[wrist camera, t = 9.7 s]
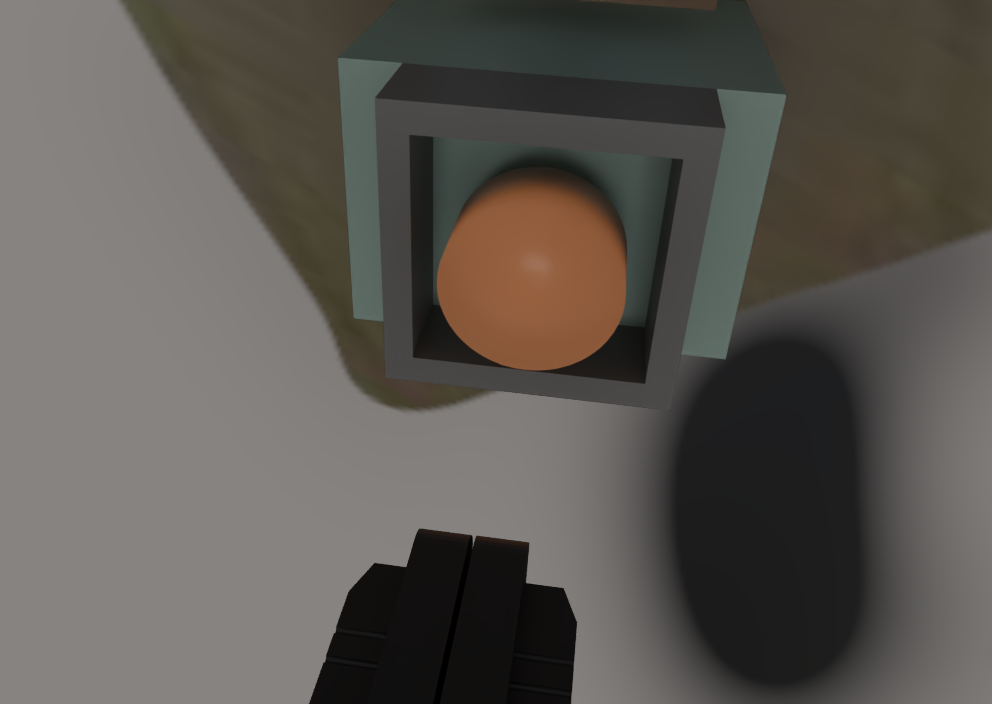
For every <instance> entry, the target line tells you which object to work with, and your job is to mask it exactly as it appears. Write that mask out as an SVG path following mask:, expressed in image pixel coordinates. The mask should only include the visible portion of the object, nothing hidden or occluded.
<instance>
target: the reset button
mask: <svg viewBox="0 0 992 704" xmlns="http://www.w3.org/2000/svg"><path fill="white" fill-rule="evenodd" d="M626 274H627V238H626V233H625V229H624V226H623V223H622V220H621V218H620V216H619V214H618V212H617V210H616V209H615V207H614V206H613V204H612V203H611V202H610V200H609V199H608V198H607V197H606V196H605V195H604V194H603V193H602V192H601V191H600V190H599V189H598V188H596V187H595V186H594V185H592V184H591V183H590V182H588V181H586V180H585V179H583V178H581V177H579V176H577V175H574V174H572V173H570V172H567V171H563V170H560V169H555V168H548V167H525V168H519V169H514V170H510V171H507V172H505V173H502V174H499V175H497V176H495V177H494V178H492V179H490V180H488V181H487V182H485V183H484V184H483V185H481V186H480V187H479V188H478V189H477V190H476V191H475V192H474V193H473V194H472V195H471V196H470V197H469V199H468V200H467V201H466V202H465V204H464V206H463V208H462V209H461V211H460V214H459V216H458V219H457V221H456V223H455V226H454V228H453V231H452V233H451V236H450V238H449V241H448V243H447V246H446V248H445V251H444V253H443V256H442V258H441V261H440V264H439V269H438V274H437V293H438V298H439V302H440V306H441V309H442V311H443V314H444V316H445V318H446V320H447V322H448V323H449V325H450V326H451V328H452V329H453V331H454V332H455V333H456V334H457V335H458V337H459V338H460V339H461V340H462V341H463V342H464V343H465V344H467V345H468V346H469V347H470V348H471V349H473V350H474V351H476V352H477V353H478V354H480V355H482V356H483V357H485V358H487V359H489V360H491V361H494V362H496V363H499V364H501V365H504V366H508V367H512V368H516V369H522V370H535V371H537V370H551V369H557V368H561V367H565V366H569V365H572V364H574V363H576V362H579V361H581V360H583V359H585V358H586V357H588V356H590V355H591V354H593V353H594V352H596V351H597V350H598V349H599V348H601V347H602V346H603V345H604V344H605V343H606V342H607V341H608V339H609V338H610V337H611V335H612V334H613V333H614V331H615V329H616V328H617V326H618V324H619V322H620V319H621V317H622V314H623V311H624V306H625V299H626Z"/></svg>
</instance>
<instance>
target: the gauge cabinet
mask: <svg viewBox="0 0 992 704" xmlns="http://www.w3.org/2000/svg"><path fill="white" fill-rule="evenodd" d="M338 68H339V85H340V101H341V117H342V133H343V150H344V166H345V182H346V199H347V215H348V231H349V248H350V264H351V280H352V297H353V313H354V318H356V319H365V320H374V321H383V326H384V352H385V378H393V379H401V380H410V381H419V382H427V383H436V384H444V385H453V386H462V387H470V388H479V389H488V390H496V391H505V392H513V393H522V394H531V395H539V396H548V397H556V398H565V399H574V400H582V401H591V402H600V403H608V404H617V405H626V406H634V407H643V408H652V409H660V410H669V411H670V410H671V405H672V400H673V395H674V390H675V385H676V379H677V374H678V369H679V364H680V359H681V354H683V355H692V356H701V357H711V358H720V359H726V354H727V350H728V346H729V341H730V337H731V333H732V328H733V324H734V320H735V316H736V311H737V307H738V303H739V298H740V294H741V290H742V285H743V281H744V277H745V272H746V268H747V264H748V259H749V255H750V251H751V247H752V242H753V238H754V234H755V229H756V225H757V221H758V216H759V212H760V208H761V203H762V199H763V195H764V190H765V186H766V182H767V178H768V173H769V169H770V165H771V160H772V156H773V152H774V147H775V143H776V139H777V134H778V130H779V126H780V121H781V117H782V113H783V109H784V104H785V100H786V96H787V94H786V92H785V90H784V87H783V85H782V83H781V81H780V78H779V76H778V74H777V71H776V69H775V67H774V65H773V62H772V60H771V58H770V55H769V53H768V51H767V49H766V46H765V44H764V42H763V39H762V37H761V35H760V33H759V30H758V28H757V26H756V23H755V21H754V19H753V16H752V14H751V12H750V10H749V7H748V5H747V3H746V1H736V0H717V6H716V10H704V9H691V8H677V7H664V6H651V5H637V4H624V3H610V2H597V1H583V0H397V1H396V2H395V3H394V4H393V5H391V6H390V7H389V8H388V9H387V10H386V11H385V12H384V13H383V14H382V15H381V16H380V17H379V18H378V19H377V20H376V21H375V22H374V23H373V24H372V25H371V26H370V27H369V28H368V29H367V30H366V31H365V32H364V33H363V34H362V35H361V36H360V37H359V38H358V39H357V40H356V41H355V42H353V43H352V44H351V45H350V46H349V47H348V48H347V49H346V50H345V51H344V52H343V53H342V54H341V55H340V56H339V57H338ZM525 167H548V168H555V169H560V170H563V171H567V172H570V173H572V174H574V175H577V176H579V177H581V178H583V179H585V180H586V181H588V182H590V183H591V184H592V185H594V186H595V187H596V188H598V189H599V190H600V191H601V192H602V193H603V194H604V195H605V196H606V197H607V198H608V199H609V200H610V202H611V203H612V204H613V206H614V207H615V209H616V210H617V212H618V214H619V216H620V218H621V220H622V223H623V226H624V229H625V233H626V238H627V274H626V299H625V306H624V311H623V314H622V317H621V319H620V322H619V324H618V326H617V328H616V329H615V331H614V333H613V334H612V335H611V337H610V338H609V339H608V341H607V342H606V343H605V344H604V345H603V346H602V347H601V348H599V349H598V350H597V351H596V352H594V353H593V354H591V355H590V356H588V357H586V358H585V359H583V360H581V361H579V362H576V363H574V364H572V365H569V366H565V367H561V368H557V369H551V370H537V371H535V370H522V369H516V368H512V367H508V366H504V365H501V364H499V363H496V362H494V361H491V360H489V359H487V358H485V357H483V356H482V355H480V354H478V353H477V352H476V351H474V350H473V349H471V348H470V347H469V346H468V345H467V344H465V343H464V342H463V341H462V340H461V339H460V338H459V337H458V335H457V334H456V333H455V332H454V331H453V329H452V328H451V326H450V325H449V323H448V322H447V320H446V318H445V316H444V314H443V311H442V309H441V306H440V302H439V298H438V293H437V274H438V269H439V264H440V261H441V258H442V256H443V253H444V251H445V248H446V246H447V243H448V241H449V238H450V236H451V233H452V231H453V228H454V226H455V223H456V221H457V219H458V216H459V214H460V211H461V209H462V208H463V206H464V204H465V202H466V201H467V200H468V199H469V197H470V196H471V195H472V194H473V193H474V192H475V191H476V190H477V189H478V188H479V187H480V186H481V185H483V184H484V183H485V182H487V181H488V180H490V179H492V178H494V177H495V176H497V175H499V174H502V173H505V172H507V171H510V170H514V169H519V168H525Z"/></svg>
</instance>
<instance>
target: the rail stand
mask: <svg viewBox="0 0 992 704" xmlns="http://www.w3.org/2000/svg"><path fill="white" fill-rule="evenodd" d="M583 1H597V2H610V3H624V4H637V5H651V6H664V7H677V8H691V9H704V10H716V6H717V0H583Z"/></svg>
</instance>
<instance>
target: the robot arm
mask: <svg viewBox="0 0 992 704" xmlns="http://www.w3.org/2000/svg"><path fill="white" fill-rule="evenodd" d="M528 554H529V543H528V542H521V541H513V540H506V539H498V538H490V537H483V536H476V538H475V542H474V546H473V537H472V535H465V534H458V533H450V532H442V531H434V530H427V529H419V530H418V532H417V534H416V537H415V540H414V543H413V546H412V550H411V554H410V557H409V560H408V564H407V567H400V566H393V565H385V564H378V563H374V564H373V565H372V566H371V568H370V569H369V570H368V571H367V572H366V573H365V574H364V575H363V576H362V577H361V579H360V580H359V581H358V582H357V583H356V584H355V585H354V586H353V587H352V589H351V590H350V591H349V592H348V595H347V598H346V601H345V604H344V606H343V609H342V612H341V615H340V618H339V620H338V623H337V626H336V633H334V635H333V638H332V640H331V643H330V646H329V649H328V652H327V654H326V661H325V663H323V666H322V669H321V671H320V674H319V677H318V680H317V683H316V686H315V689H314V692H313V694H312V697H311V700H310V703H309V704H571V694H572V683H573V670H574V669H573V668H574V655H575V642H576V629H577V621H576V619H575V616H574V614H573V611H572V609H571V606H570V604H569V602H568V599H567V596H566V593H565V591H564V588H558V587H551V586H543V585H536V584H528V583H526V576H527V564H528Z"/></svg>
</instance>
